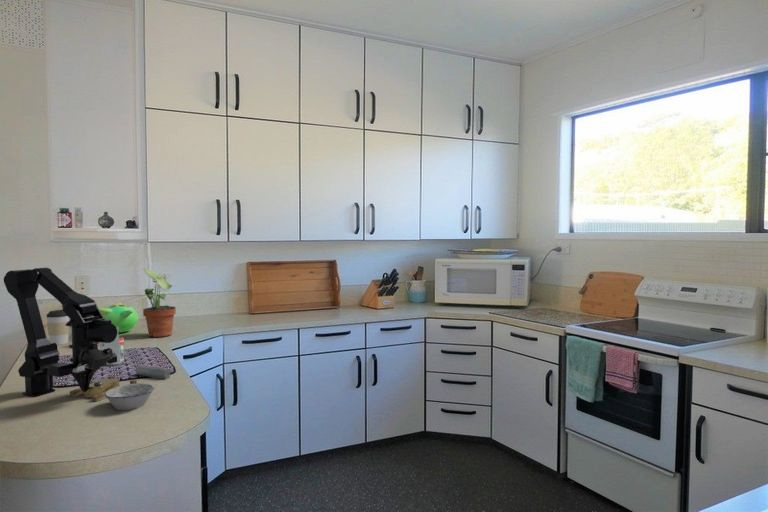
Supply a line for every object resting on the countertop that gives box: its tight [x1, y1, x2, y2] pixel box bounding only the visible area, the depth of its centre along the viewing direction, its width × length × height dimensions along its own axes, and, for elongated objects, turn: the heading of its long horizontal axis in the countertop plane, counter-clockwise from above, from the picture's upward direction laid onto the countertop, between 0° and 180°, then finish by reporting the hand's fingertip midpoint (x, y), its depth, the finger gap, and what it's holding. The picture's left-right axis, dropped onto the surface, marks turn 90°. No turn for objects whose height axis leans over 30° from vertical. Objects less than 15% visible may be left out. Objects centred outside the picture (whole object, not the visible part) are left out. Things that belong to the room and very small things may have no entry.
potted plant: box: [142, 268, 177, 338], centre depth 241 cm, size 16×15×35 cm
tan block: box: [83, 378, 120, 398], centre depth 158 cm, size 8×6×4 cm
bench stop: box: [135, 364, 171, 380], centre depth 176 cm, size 2×14×3 cm, turn 65°
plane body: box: [69, 375, 138, 402], centre depth 159 cm, size 14×12×2 cm
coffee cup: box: [46, 309, 70, 346], centre depth 228 cm, size 9×9×15 cm
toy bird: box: [98, 302, 139, 334], centre depth 250 cm, size 18×17×15 cm
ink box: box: [98, 327, 125, 366], centre depth 192 cm, size 4×8×15 cm, turn 90°
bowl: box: [105, 382, 155, 411], centre depth 147 cm, size 13×13×5 cm
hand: (84, 391), depth 153 cm, fingers closed
